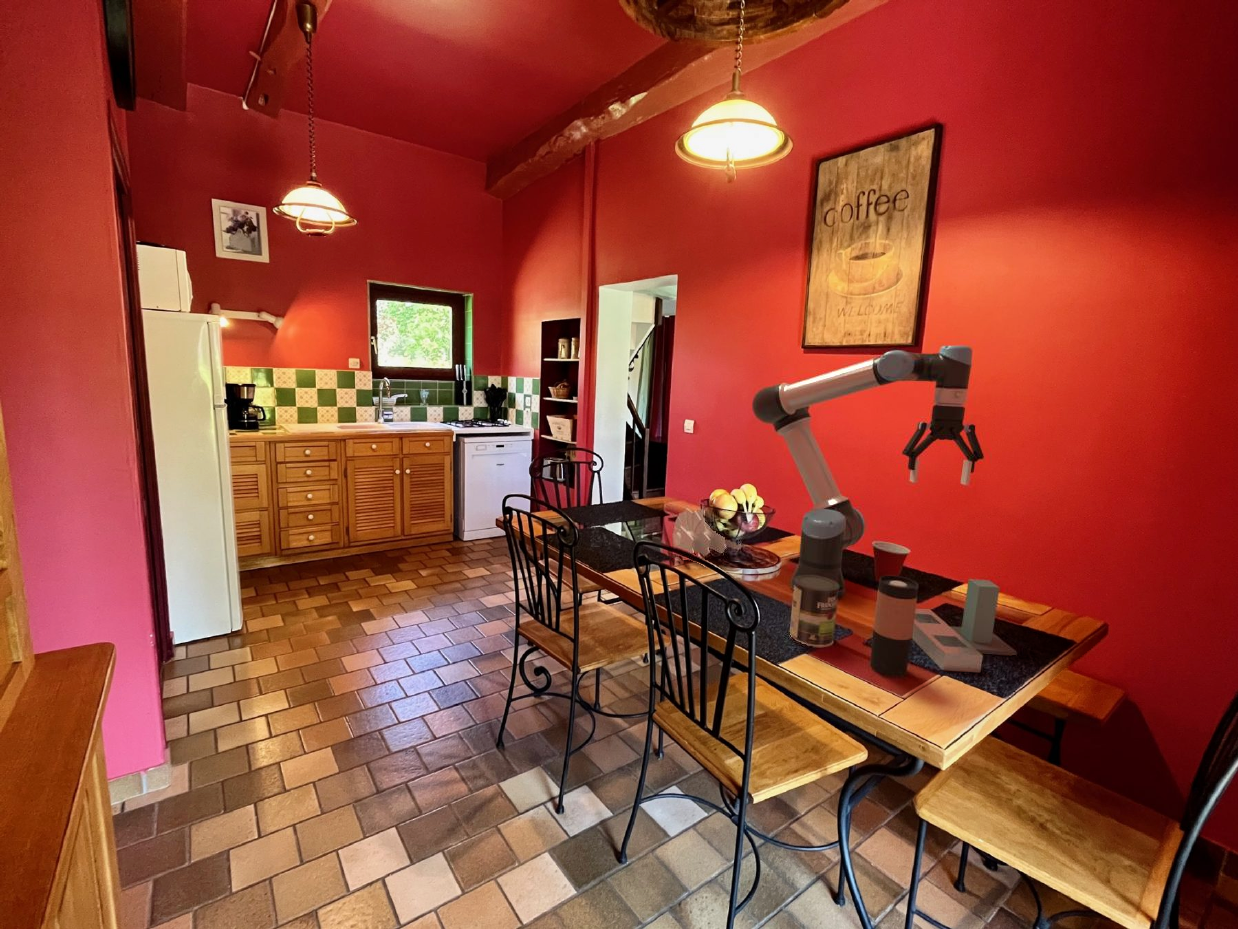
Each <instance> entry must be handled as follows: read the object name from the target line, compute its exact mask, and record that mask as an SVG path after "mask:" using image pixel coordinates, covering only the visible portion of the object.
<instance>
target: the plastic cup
mask: <svg viewBox="0 0 1238 929" xmlns="http://www.w3.org/2000/svg"><path fill="white" fill-rule="evenodd" d="M871 545H872V547H873V548H872V549H873V562H874V563H873V564H874V572H875V573H874V574H875V582H876V581H877V582H879V579H880V577H882V576H888V575H891V576H900V575H901V572H902V569H903V567H904V563H905V560H906V559H907V557H908V555H909V554H910V553H911V550H910V549H909V548H908V547H905V546H902V545H900V544H897V543H892V542H886V541H879V540H877V541H873V542H871ZM877 582H876V583H877Z"/></svg>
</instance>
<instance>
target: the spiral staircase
mask: <svg viewBox="0 0 1238 929" xmlns="http://www.w3.org/2000/svg"><path fill="white" fill-rule="evenodd" d="M673 525H674V526H673V532H672V535H671V536H672V542H673V547H674V546H675V547H678V548H681V549H684V550H686V551H688V552H690V553H694V551H695V552H698V553H701V554H703V556H706V557H707V555H709V553H710V550H709V548H710V549H713V550H715V551H717V552H719V553H723V554H724V553H725V551H724V550H725V549H726V548H727V547H726V546H729V547H731V548H733V549H737V550H738V551H739V550H740V549H741V548H742V544H741V541H740V542H739V543H740V544H738V545H736V544H735V543H734V542H731V541H730V540H725V537H723V536H721V535H720V534H718V533H716V531H713V530H712V529H711V528H710V526H709V525H708V524H707V523H706V522H705V518H704V517H703V507H702V509H699V510H694V511H692V510H691V509H690V508H685V511H682V512H679V513H678V516H677V517H676V520H675V522H674V524H673ZM675 547H674V548H675Z"/></svg>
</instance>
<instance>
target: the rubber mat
mask: <svg viewBox="0 0 1238 929" xmlns="http://www.w3.org/2000/svg"><path fill="white" fill-rule="evenodd" d="M950 627H951V628H952V629H953V630H954V631H955V632H956V633H958V634H959V635H960V636H961V637H962V638H963V639H965V640H966V641H967V642H968V643H969V644H970V645H971V646H973V647H974V648H975V649H976V650H977V651H978V652H980V653H981V654H982V655H983V654H985V655H995V654H996V655H995V656H997V655H998V656H999V655H1000V656H1012V655H1016V656H1017V654H1018V653H1017V651H1016V649H1014V648H1013V647H1011V646H1010V645H1009V644H1007V643H1006V642H1005V641H1004V640H1002V639H1001V638H1000V637H999V636H997V635H996V634H994V633H992V640H991V643H979V642H970V641H969V640H968V639H967V638H966V637H965V636H963V635H962V634H961V629H962V626H950Z"/></svg>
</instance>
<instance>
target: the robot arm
mask: <svg viewBox="0 0 1238 929" xmlns="http://www.w3.org/2000/svg"><path fill="white" fill-rule="evenodd" d="M972 357H973V349H972V348H971V347H970V346H968V345H943V346H941V347H940V349H939V351H938V353H937V352H935V353H923V352H922V353H918V352H911V351H910V352H909V351H905V350H902V349H901V350H900V349H899V350H898V349H897V350H896V349H895V350H890V351H886V352H885V353H883V355H881V356H878V357H875V358H871V359H868V360H865V361H861V362H858V363H855V364H852V365H849V366H845V367H842V368H839V369H835V370H833V371H829V372H826V373H823V374H820V375H817V376H813V377H811V378H807V379H804V380H800V381H798V382H794V383H790V384H789V383H787V382H781V383H778V384H775V385H771V386H766V387H763V388H761V389H759V391H757V393H756V394H755V395H754V396H753V398H752V399H753V400H752V403H751V407H752V412H753V414H754V416H755V417H756V418H757V419H758V420H759V421H760V422H763V423H765V424H767V425H769V424H770V425H772V426H773V429H774V430H775V432H776V434H777V435H780V436H782V437H783V438H784V441H785V443H786V445H787V448H788V450H789V452H790V455H791V456H792V459H793V461H794V463H795V466H796V467H797V470H798V472H799V474H800V476H801V479H802V481H803V483H804V486H805V487H806V489H807V492H808V494H809V497H810V499H811V501H812V503H813V509H812V510H809V511H807V512H806V513H805V514H803V518H802V523H801V531H800V532H801V533H800V543H799V557H798V564H797V566H796V567H795V570H794V571H793V572H794V573H793V574H792V577H791V579H790V585H791V587H792V588H793V589H794V578H795V577H797V576H801V575H815V576H821V577H825V578H829V579H831V580H833V581H835V582H837V583H838V584H839V586H840V588H839V592H838V600H841V599H843V598H844V597H845V595H846V584H845V581H844V577H843V572H842V559H843V550H845V549H847V548H849V547H851V546H854V545H855V544H856V543H858V542H859V541H860V540H861V539H862V538H863V536H864V534H865V531H866V520H865V518H864V516H863V514H862V512H860V511H859V510H858V509H857V508H854V507H853V504H852V502H851V500H850V499H849V497H846V496H844V495H842V493H841V492H840V489H839V487H838V485H837V482H836V480H835V478H834V477H833V474H832V472H831V470H830V467H829V466H828V463H827V461H826V459H825V457H824V454H823V453H822V450H821V448H820V446H819V444H818V441H817V439H816V437H815V435H814V434H813V433H814V432H813V431H812V429H811V426H810V424H811V422H812V416H811V415H810V412H809V409H810V406H814V405H817V404H820V403H824V402H828V401H831V400H835V399H838V398H841V397H845V396H849V395H852V394H856V393H861V392H863V391H867V390H871V389H875V388H878V387H883V386H885V385H889V384H892V383H897V382H906V381H907V382H931V383H933V382H934V383H935V385H934V386H935V388H934V394H933V403H934V405H933V406H932V410H931V411H932V412H931V421H930V423H927V422H924V421H919V422H918V423H917V428H916V430H915V432H914V433H913V435H912V436H911V437H910V439H909V441H908V442H907V443H906V446H905V447H904V448H903V450H902V453H901V454H902V455H903V456H905V457H908V462H907V464H908V465H907V469H908V470H909V471H910V475H909V482H911V483H913V484H917V483H918V475H919V469H920V458H918V457H919V456H920V455H921V454H922V453H924V452H925V450H927V448H929V447H930V445H932V444H933V443H934V442H936V441H937V440H938V441H945V440H947V441H953V442H955V444H956V446H957V447H958V449H959V450H960V451H961V452H962V454H963V455H964V456H965V458H966V459H963V465H962V469H961V470H962V472H961V477H960V484H962V485H964V486H970V479H971V474H973V473H974V472H975V466H976V463H977V462H978V461H979V460H983V459H984V458H985V456H984V453H983V451H982V448H981V445H980V442H979V439H978V436H977V434H976V425H975V424H973V423H966V424H964V422H963V421H964V420H965V414H966V407H965V406H964V405H966V404H967V399H968V398H967V396H968V388H969V384H970V383H969V382H970V377H971V376H970V375H971V369H972V365H973V364H972ZM928 429H929V430H930V433H928V434H927V435H926V437H924V439H923V440H922V437H923V436H924V435H925V432H926V431H928ZM962 431H964V432H965V435H966V438H967V441H968V443H969V445H970V447H969V446H968V444H967V443H966V441H965V440H964V437H963V435H961V432H962ZM920 440H922V441H921V442H920ZM919 442H920V443H919ZM970 448H971V449H970ZM791 587H790V588H791ZM842 597H843V598H842Z"/></svg>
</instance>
